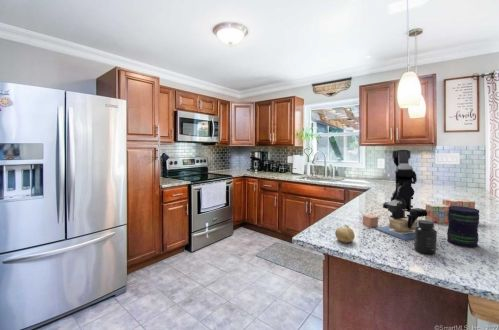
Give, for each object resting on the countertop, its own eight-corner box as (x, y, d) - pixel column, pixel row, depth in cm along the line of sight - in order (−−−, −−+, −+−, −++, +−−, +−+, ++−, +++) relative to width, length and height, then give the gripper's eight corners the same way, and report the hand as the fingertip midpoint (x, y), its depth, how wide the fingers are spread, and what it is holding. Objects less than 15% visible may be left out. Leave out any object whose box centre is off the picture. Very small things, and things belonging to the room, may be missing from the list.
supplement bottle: (409, 248, 94) (410, 219, 94) (425, 247, 95) (426, 218, 94) (424, 256, 87) (425, 224, 87) (440, 255, 88) (442, 223, 87)
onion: (356, 245, 98) (357, 228, 98) (337, 244, 99) (337, 227, 99) (351, 238, 106) (352, 223, 106) (333, 237, 107) (333, 222, 107)
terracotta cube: (370, 223, 128) (370, 214, 127) (377, 226, 123) (377, 216, 122) (362, 224, 126) (363, 215, 126) (370, 227, 121) (370, 217, 121)
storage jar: (471, 250, 92) (473, 212, 92) (442, 241, 101) (443, 207, 100) (482, 245, 97) (484, 209, 96) (453, 237, 106) (454, 205, 105)
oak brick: (405, 225, 117) (405, 217, 117) (416, 229, 111) (417, 221, 111) (389, 227, 114) (389, 219, 114) (400, 231, 109) (400, 223, 108)
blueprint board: (401, 225, 123) (401, 223, 123) (433, 235, 108) (433, 234, 108) (374, 229, 118) (374, 227, 118) (404, 240, 103) (404, 238, 102)
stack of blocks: (432, 223, 128) (433, 200, 127) (424, 219, 134) (425, 198, 133) (474, 223, 126) (475, 201, 125) (464, 220, 132) (465, 198, 131)
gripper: (374, 192, 118) (374, 222, 119) (410, 199, 101) (409, 234, 101) (391, 191, 122) (391, 220, 123) (428, 197, 104) (427, 231, 105)
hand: (403, 226), depth 113 cm, fingers closed on oak brick, 6 cm apart
